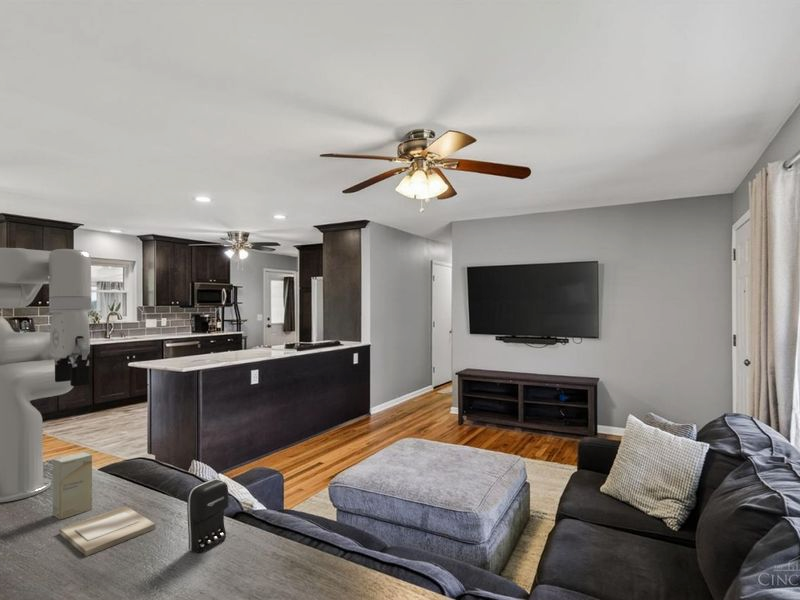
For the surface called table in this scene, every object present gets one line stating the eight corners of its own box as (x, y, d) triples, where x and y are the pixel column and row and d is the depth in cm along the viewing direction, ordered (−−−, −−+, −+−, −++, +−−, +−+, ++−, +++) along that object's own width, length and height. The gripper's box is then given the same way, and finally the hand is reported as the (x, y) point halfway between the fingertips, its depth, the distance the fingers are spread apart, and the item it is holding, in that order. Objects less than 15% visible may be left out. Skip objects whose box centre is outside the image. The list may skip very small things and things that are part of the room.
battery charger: (200, 557, 79) (199, 492, 79) (186, 551, 81) (185, 488, 81) (232, 538, 85) (231, 479, 85) (219, 534, 87) (218, 475, 87)
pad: (59, 533, 88) (59, 527, 88) (125, 510, 98) (125, 504, 98) (86, 556, 80) (86, 549, 80) (155, 528, 90) (155, 522, 90)
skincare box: (59, 520, 94) (59, 462, 94) (51, 515, 96) (51, 459, 97) (93, 508, 99) (93, 454, 99) (85, 504, 102) (84, 450, 102)
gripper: (37, 306, 100) (38, 382, 100) (64, 305, 90) (64, 390, 90) (76, 305, 106) (77, 377, 106) (105, 304, 96) (106, 384, 96)
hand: (71, 383), depth 98 cm, fingers open, 9 cm apart
